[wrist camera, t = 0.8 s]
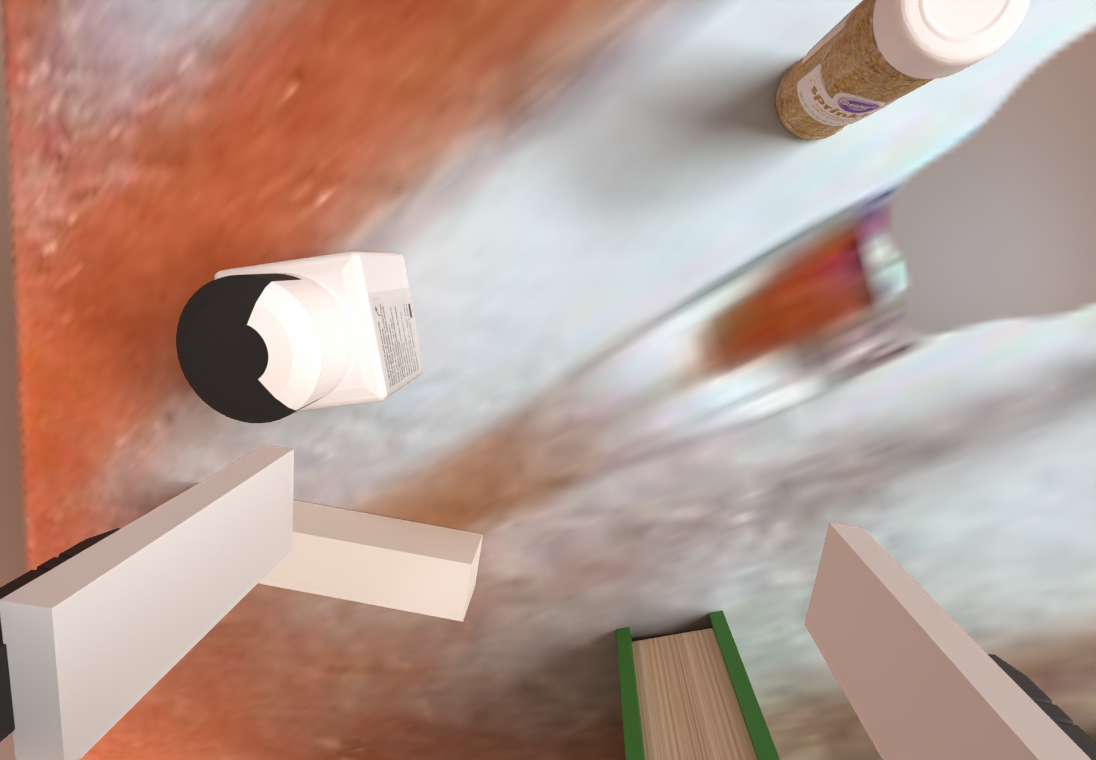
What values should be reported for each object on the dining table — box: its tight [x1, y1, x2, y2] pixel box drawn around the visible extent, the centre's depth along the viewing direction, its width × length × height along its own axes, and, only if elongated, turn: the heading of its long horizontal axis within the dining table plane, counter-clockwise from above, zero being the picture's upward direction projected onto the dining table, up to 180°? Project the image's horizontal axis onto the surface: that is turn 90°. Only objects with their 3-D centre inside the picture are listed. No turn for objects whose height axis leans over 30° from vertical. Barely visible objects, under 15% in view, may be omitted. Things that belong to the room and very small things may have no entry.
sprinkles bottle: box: [776, 0, 1030, 140], centre depth 26 cm, size 5×5×13 cm
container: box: [176, 251, 424, 423], centre depth 31 cm, size 8×8×13 cm
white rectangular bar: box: [158, 500, 483, 622], centre depth 38 cm, size 4×20×4 cm, turn 81°
